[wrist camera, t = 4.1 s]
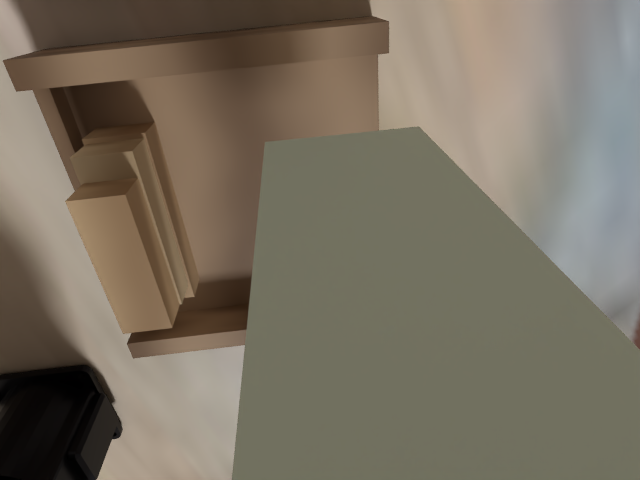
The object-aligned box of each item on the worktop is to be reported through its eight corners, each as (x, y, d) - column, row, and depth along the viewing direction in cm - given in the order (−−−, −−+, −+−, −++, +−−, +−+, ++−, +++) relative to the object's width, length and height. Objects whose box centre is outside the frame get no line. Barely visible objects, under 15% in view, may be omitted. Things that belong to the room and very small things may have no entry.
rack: (148, 318, 24) (133, 358, 21) (45, 49, 17) (2, 60, 14) (377, 291, 24) (388, 327, 22) (372, 16, 17) (388, 21, 14)
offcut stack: (152, 283, 22) (124, 348, 18) (96, 128, 17) (43, 168, 14) (199, 278, 22) (182, 341, 18) (154, 121, 18) (119, 160, 14)
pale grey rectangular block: (310, 451, 13) (335, 831, 7) (264, 142, 8) (222, 568, 2) (405, 440, 13) (505, 807, 7) (418, 126, 8) (782, 495, 2)
